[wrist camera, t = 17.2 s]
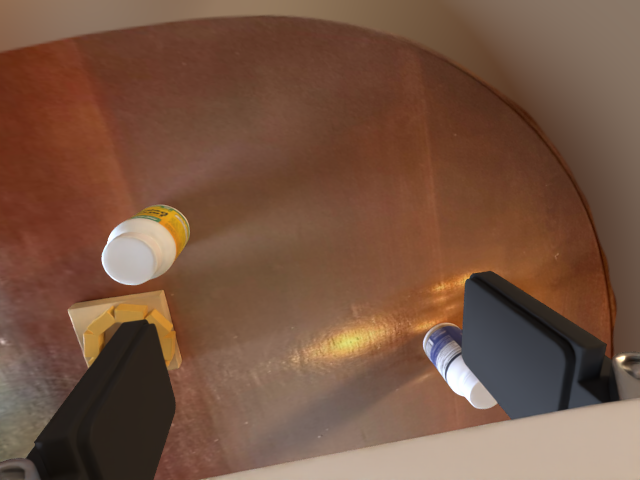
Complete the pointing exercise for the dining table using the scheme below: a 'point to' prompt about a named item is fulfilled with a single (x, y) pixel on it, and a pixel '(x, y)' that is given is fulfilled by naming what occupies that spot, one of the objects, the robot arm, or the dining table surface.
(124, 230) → the supplement bottle
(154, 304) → the post
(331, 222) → the dining table surface
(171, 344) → the ring
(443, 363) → the pill bottle
